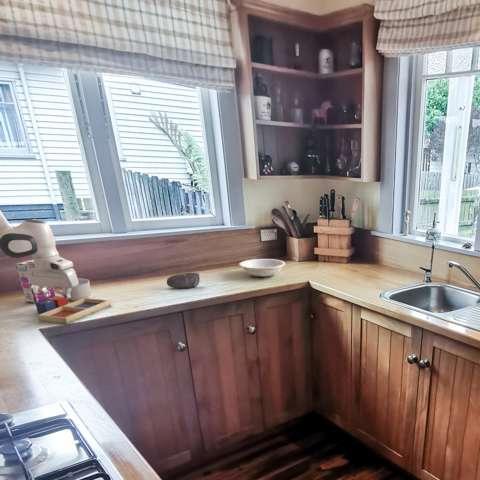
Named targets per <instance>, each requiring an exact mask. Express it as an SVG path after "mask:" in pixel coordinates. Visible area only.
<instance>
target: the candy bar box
mask: <svg viewBox="0 0 480 480" xmlns="http://www.w3.org/2000/svg"><path fill="white" fill-rule="evenodd" d="M28 262H34V261H33V259H29V260H26V261H22V262H17V263H15V268H16V271H17V274H18V278H19V281H20V286H21V288H22V292H23V296H24V299H25V303H29V304H30V303H31V304H35V303H37V302H40V301H43V300H48V299H49V298H52V297H55V296H56V292H55V291H54V290H53V289H52V287H50V286H46V287H45V288H46V289H47V291H49V292H50V294H51V296H49V297H46V296H44V294H43V292H42V291H41V290H40V289H39V286H36V285H31V284H30V283H29V281H28V277H27V268H26V264H27V263H28Z"/></svg>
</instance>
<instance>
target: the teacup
mask: <svg viewBox="0 0 480 480" xmlns="http://www.w3.org/2000/svg"><path fill="white" fill-rule="evenodd" d="M77 278H78V282H79V284H78V286H77V287H74V288H71V292H70V295H71V297H70V298H67V300H70V301H73V302H75V301H78V300H81V299H83V298H90V296H91V295H92V288H91V283H90V280H89V279H88V278H83V277H77ZM59 288H60V290H61V291H59V290H57V289H56V287H52V289H53V290H54V293H55V294H59V295H61V297H64V294H65V292H66V290H64V288H63V287H59Z"/></svg>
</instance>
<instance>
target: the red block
mask: <svg viewBox="0 0 480 480" xmlns="http://www.w3.org/2000/svg"><path fill="white" fill-rule="evenodd" d="M47 300H49V301H54V302H55V306H56V308H58V307H61V306H64V305H67V304H69V303H68V298H65V297H64V296H59V295H55V297H52V298H49V299H47Z"/></svg>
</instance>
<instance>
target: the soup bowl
mask: <svg viewBox="0 0 480 480" xmlns="http://www.w3.org/2000/svg"><path fill="white" fill-rule="evenodd" d="M238 265H239V267H240V268H242V269H243V270H244V271H245V272H246V273H247V274H248V275H250V276H254V277H261V278H263V277H271V276H272V277H273V276H274V275H277V274H279V272H280V271H281V270H282V268H283V267H284V266H285V265H286V262H285V261H284V260H280V259H274V258H253V259H246V260H243V261H241V262H239V263H238Z"/></svg>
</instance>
